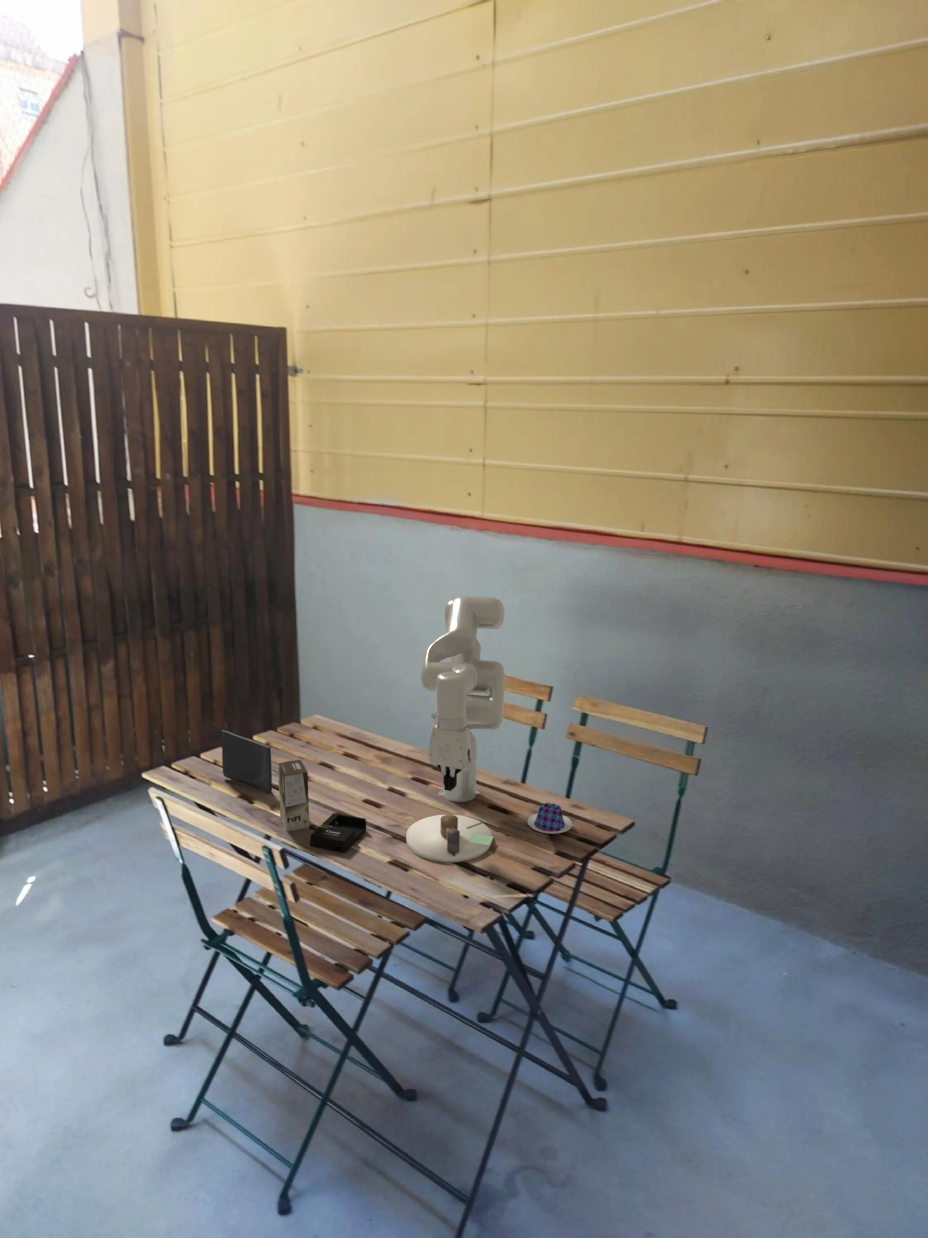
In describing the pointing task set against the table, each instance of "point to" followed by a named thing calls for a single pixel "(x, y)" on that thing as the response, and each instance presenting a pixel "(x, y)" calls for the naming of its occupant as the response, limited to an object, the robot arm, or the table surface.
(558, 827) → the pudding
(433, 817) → the dial plate
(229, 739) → the dark grey flat panel
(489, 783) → the table surface
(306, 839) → the table surface
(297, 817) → the coffee box
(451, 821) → the peg lever
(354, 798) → the table surface
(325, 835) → the battery charger
